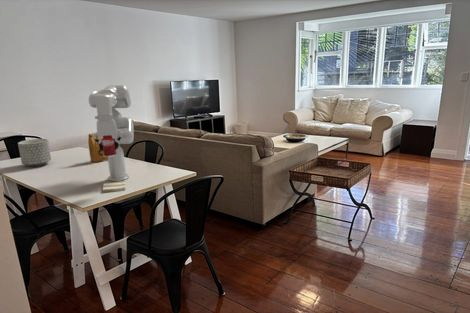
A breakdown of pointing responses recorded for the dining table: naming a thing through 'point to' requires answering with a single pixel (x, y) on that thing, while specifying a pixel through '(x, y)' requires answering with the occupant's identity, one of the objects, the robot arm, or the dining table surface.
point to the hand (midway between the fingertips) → (109, 149)
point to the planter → (34, 152)
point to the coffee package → (95, 150)
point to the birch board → (114, 186)
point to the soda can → (108, 146)
